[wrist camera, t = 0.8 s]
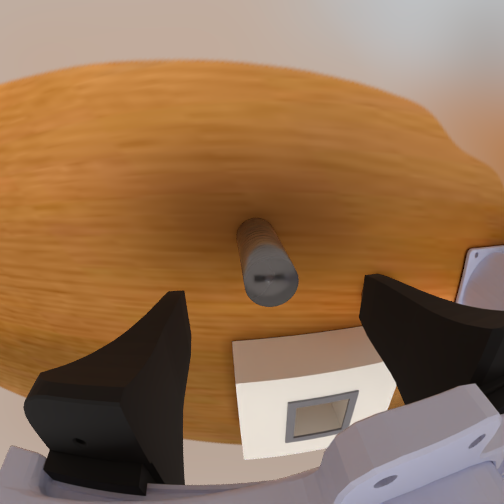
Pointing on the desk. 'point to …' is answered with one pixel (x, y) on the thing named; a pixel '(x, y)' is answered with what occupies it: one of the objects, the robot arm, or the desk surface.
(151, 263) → the desk surface
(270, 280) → the long pin
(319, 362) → the pin block
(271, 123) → the desk surface
